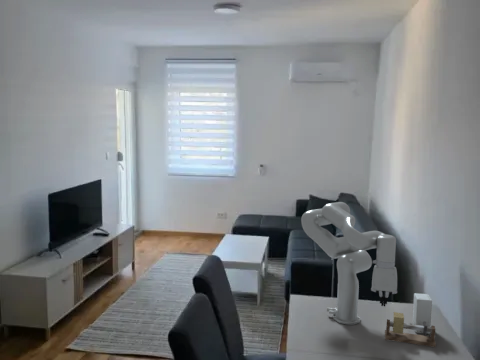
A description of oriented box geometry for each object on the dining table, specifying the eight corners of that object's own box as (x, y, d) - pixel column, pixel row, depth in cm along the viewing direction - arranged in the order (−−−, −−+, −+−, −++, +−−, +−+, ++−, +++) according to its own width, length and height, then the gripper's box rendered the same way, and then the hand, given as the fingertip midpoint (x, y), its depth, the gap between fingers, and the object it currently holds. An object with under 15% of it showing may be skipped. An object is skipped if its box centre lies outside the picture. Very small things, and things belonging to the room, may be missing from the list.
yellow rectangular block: (393, 332, 191) (394, 316, 190) (392, 327, 195) (393, 312, 194) (402, 333, 189) (404, 318, 188) (402, 328, 194) (403, 313, 193)
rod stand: (385, 339, 191) (386, 321, 190) (384, 333, 197) (386, 315, 196) (435, 347, 186) (437, 328, 185) (433, 340, 192) (435, 322, 190)
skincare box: (430, 334, 197) (433, 301, 194) (414, 333, 198) (417, 299, 196) (426, 326, 205) (429, 293, 203) (411, 324, 206) (413, 292, 204)
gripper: (367, 264, 189) (365, 306, 191) (404, 268, 184) (402, 310, 187) (367, 259, 196) (365, 299, 198) (403, 263, 192) (401, 304, 194)
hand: (383, 305), depth 192 cm, fingers closed
